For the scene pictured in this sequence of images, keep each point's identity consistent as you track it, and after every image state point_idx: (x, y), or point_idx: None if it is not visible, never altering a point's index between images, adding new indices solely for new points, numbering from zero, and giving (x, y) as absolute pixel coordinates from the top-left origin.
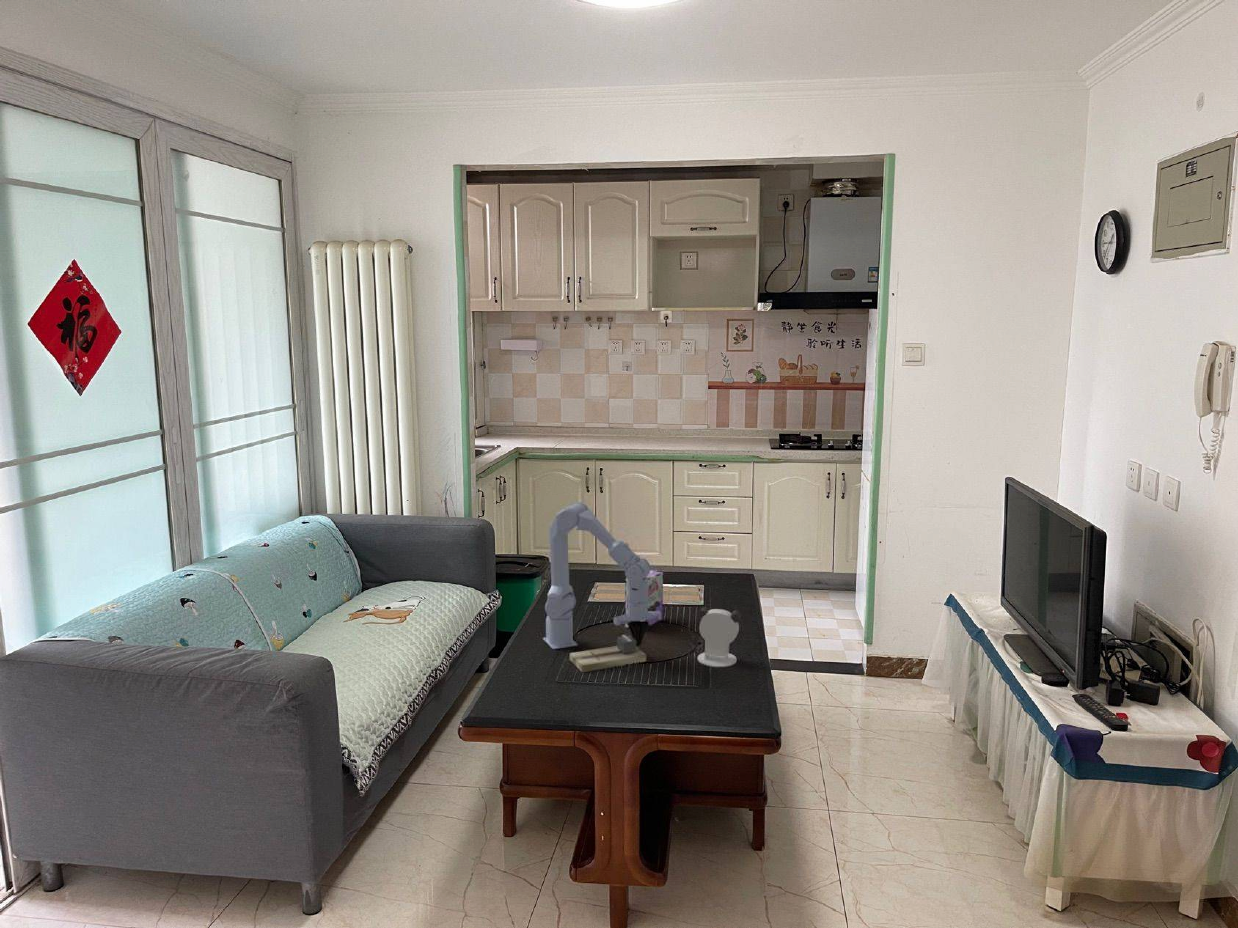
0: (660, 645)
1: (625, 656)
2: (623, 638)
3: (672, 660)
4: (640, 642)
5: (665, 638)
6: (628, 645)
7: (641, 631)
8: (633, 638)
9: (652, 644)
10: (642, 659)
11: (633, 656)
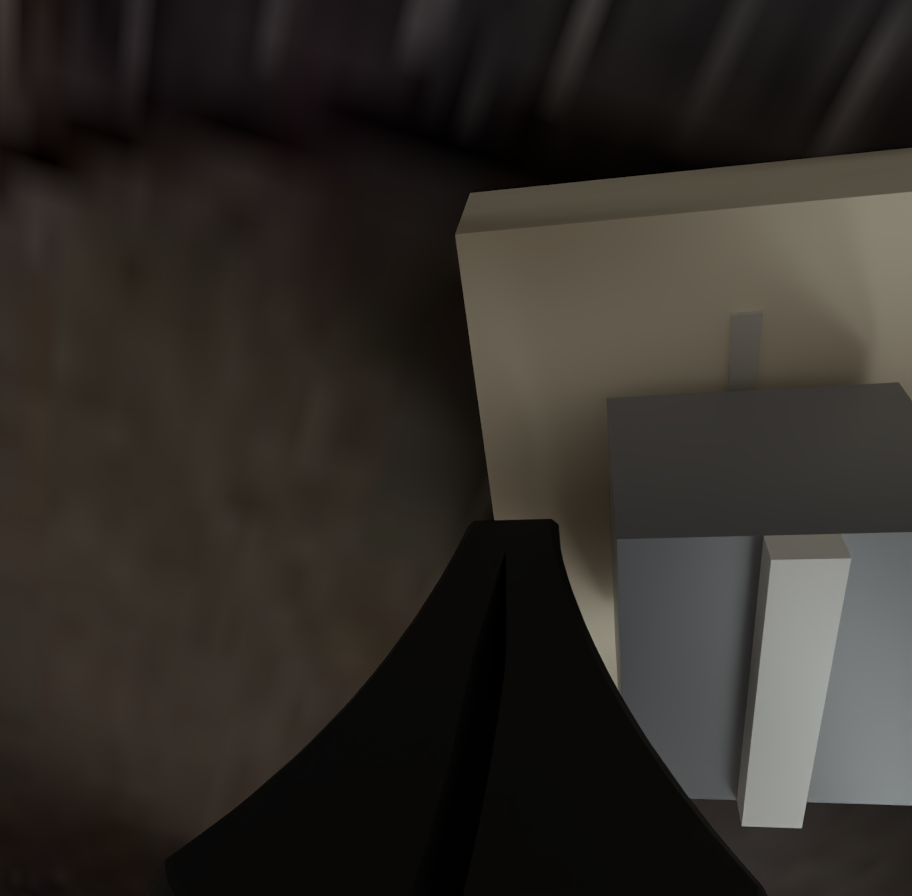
0: (145, 619)
1: (906, 282)
2: (832, 722)
3: (3, 91)
4: (478, 552)
5: (73, 735)
6: (829, 476)
7: (436, 746)
8: (621, 661)
9: (235, 666)
10: (544, 198)
11: (744, 235)
